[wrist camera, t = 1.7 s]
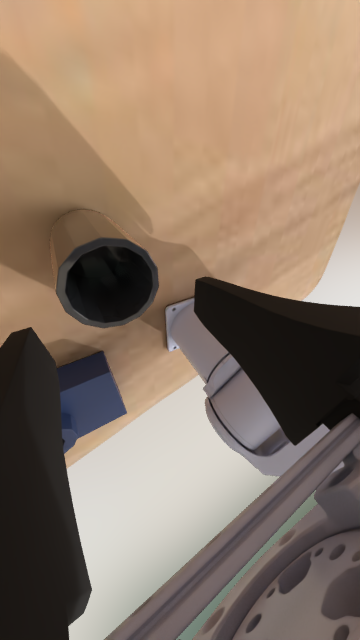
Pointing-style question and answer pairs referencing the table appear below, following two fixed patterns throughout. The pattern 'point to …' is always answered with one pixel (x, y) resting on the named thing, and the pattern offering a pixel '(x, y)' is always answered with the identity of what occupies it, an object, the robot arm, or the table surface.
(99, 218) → the pot
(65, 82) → the table surface
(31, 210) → the table surface
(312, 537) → the robot arm
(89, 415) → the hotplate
